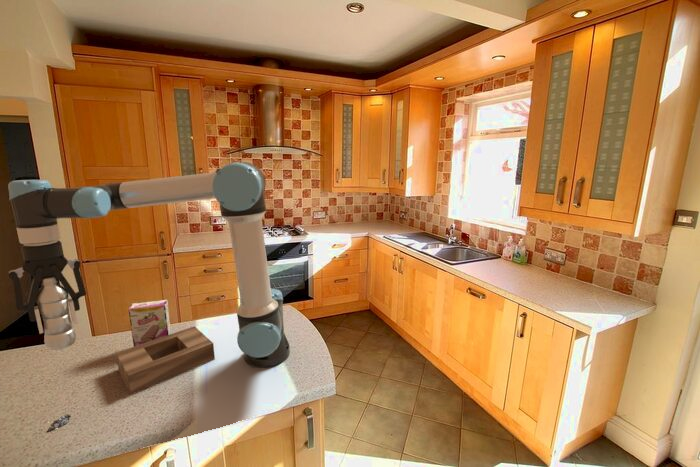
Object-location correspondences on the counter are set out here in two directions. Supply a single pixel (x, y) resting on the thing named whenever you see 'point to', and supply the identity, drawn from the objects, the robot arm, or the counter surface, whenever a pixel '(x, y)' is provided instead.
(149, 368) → the bottle caddy
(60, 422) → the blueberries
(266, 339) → the robot arm
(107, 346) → the counter surface
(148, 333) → the candy bar box
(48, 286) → the plastic bottle
